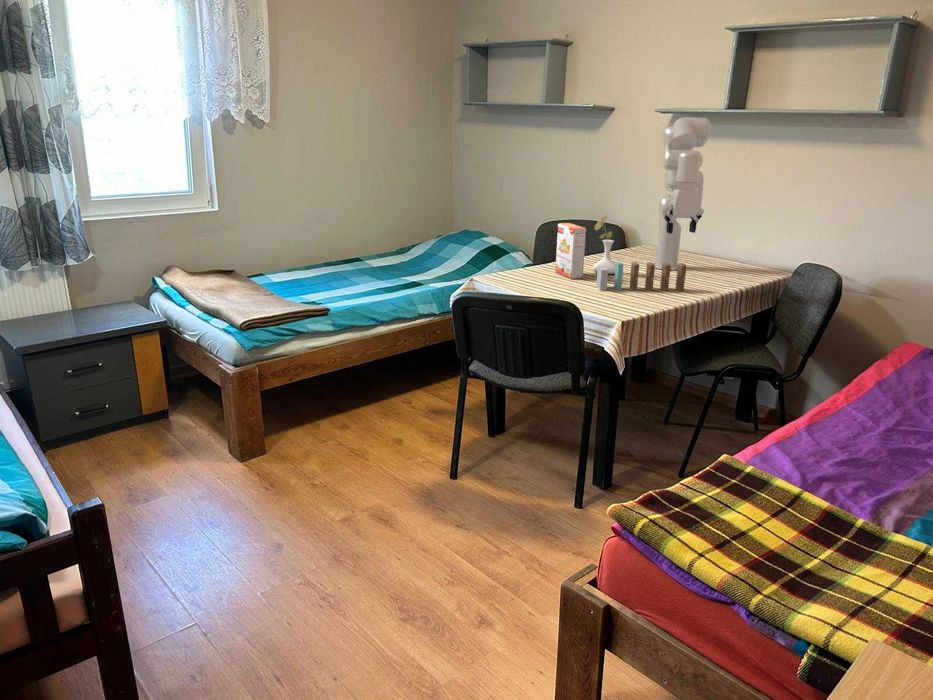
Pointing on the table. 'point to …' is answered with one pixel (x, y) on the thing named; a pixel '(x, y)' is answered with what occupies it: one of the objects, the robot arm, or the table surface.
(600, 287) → the end block
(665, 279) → the tile
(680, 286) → the brown wooden block
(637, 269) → the brown wooden block
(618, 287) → the teal block
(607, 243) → the flower in vase
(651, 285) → the tile
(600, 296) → the table surface
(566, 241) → the cracker box
